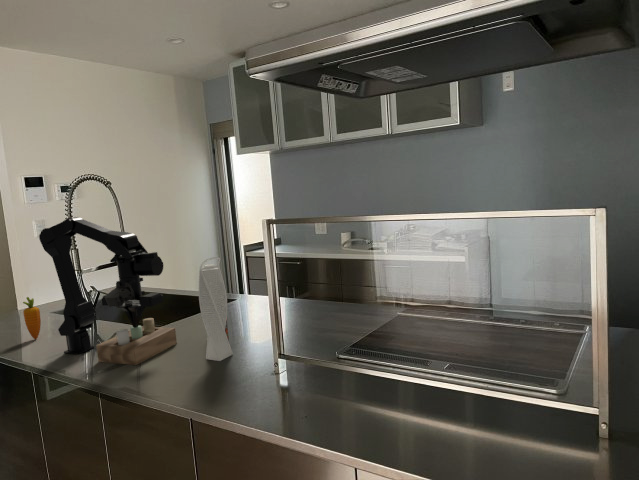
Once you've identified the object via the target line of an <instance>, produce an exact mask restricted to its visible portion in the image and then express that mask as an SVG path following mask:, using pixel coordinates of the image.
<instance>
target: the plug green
mask: <svg viewBox="0 0 639 480" xmlns="http://www.w3.org/2000/svg"><path fill="white" fill-rule="evenodd" d="M142 327H143V325H138V327H136V328H134V327H133V326H131V327H130V330H131V337H132V339H139V338H141V337H143V333H142ZM130 330H129V331H130Z"/></svg>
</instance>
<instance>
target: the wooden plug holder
mask: <svg viewBox="0 0 639 480" xmlns="http://www.w3.org/2000/svg"><path fill="white" fill-rule="evenodd" d="M128 332H129V340H130V343H128V344H126V345H118V340H117V335H116V336H114V337H112V338H109V339H108V340H104V341H103V342H101V343H98V344H96V345H95V346H96V353H97V360H98V361H97V362H99V363H106V364H107V363H109V364H120V365H122V364H123V365H132V366H133V365H134V366H137V365H140V364H141V363H143V362H145V361H147V360H148V359H151V358H153V357H154V356H156V355H158V354H160V353H162V352H164V351H166V350H168V349H169V348H171V347H173V346H175V345H177V344H178V341H177V333H176V328H175V327H159V326H155V331H154V332H152V333H144V326H142V333H143V337H141V338H139V339H132V337H131V330H128Z"/></svg>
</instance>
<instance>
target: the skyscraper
mask: <svg viewBox="0 0 639 480" xmlns="http://www.w3.org/2000/svg"><path fill="white" fill-rule="evenodd" d="M212 260H218V262H217V265H215V263H208V264H206V263H207V262H208V261H212ZM221 261H222V260H221V257H218V256H215V257H210V258H207V259H205V260H204V261H203V262H202V263H201V264H200V266H199V273H198V274H199V275H198V301H199V302H198V303H199V308H200V315H201V319H202V322H203V325H204V328H205V332H206V334H207V336H206V337H207V340H206V351H205V360H211V361H217V362H221V361H222V360H225V359H226V358H229V357H231V356H233V355H234V354H233V353H234V352H233V350H232V348H231V345H230V340H229V341H228V338H227V335H226V332H225V326H226V319H227V320H228V318H227V317H228V297H227V290H226V286H225V281H224V278H223V277H224V276H223V274H222V271H221V267H220V263H221Z"/></svg>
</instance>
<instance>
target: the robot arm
mask: <svg viewBox="0 0 639 480" xmlns="http://www.w3.org/2000/svg"><path fill="white" fill-rule="evenodd" d="M77 234H78V235H79V236H83V237H85V238H88V239H89V240H93V241H95V242H98V243H101V244H103V246H105V248H106V249H107V250H109V251H110V252H112V253H113V254H114V256H113V257H111V259H110V260H109V261H110V263H116V265H117V272H118V280H117V281H116V283H115V288H113V289H112V290H111V291H109V292H108V293H107V294H104V295H103V296H102V297H101V305H102V306H106V307H107V306H108V307H109V308H112V307H115V308H118V309H120V310H122V311H123V312H124V313H125V315H126V316H127V318H128V319H129V322H130V324H131V325H132V327H134V328H136V327H138V326H140V321H141V318H142V316H143V314H144V311H145V308H151V307H154V306H157V305H159V304H162V303H164V302H165V301H164V295H163V294H162V293H161V292H150V293H145V290H142V285H141V282H143V281H144V277H150V276H151V277H154V276H155V277H157V276H160V275H162V273H163V270H164V262H163V260H162V258H161V257H160V256H158V255H159V254H158V251H157V252H156V251H152V252H148V251H147V249H146V248H145V246H143V244H142V243H141V242H140V240H139V239H138V236H137V235H136V234H135V233H132V232H127V231H120V230H119V231H118V230H117V231H116V230H112V229H109V228H107V227H105V226H101V225H98V224H96V223H93V222H91V221H88V220H86V219H84V218H82V217H79V216H73V217H69V218H66V219H64V220H63V221H61V222H59V223H56V224H55V225H53V226H50V227H46V228H43V229H42V230H41V231H40V233H39V235H38V238H39V241H40V242H39V243H40V244H41V246H42V248H43V250H44V252H46V253H47V254H48V255H49V256H50V257H51V258H52V260H53V261H52V262H53V264H54V267H55V271H56V274H57V277H58V278H57V279H58V281H59V284H60V288H61V290H62V294H63V298H64V300H65V304H64V308H63V312H62V313H63V318H64V319H63V322H62V323H61V325H60V326H59V328H58V333H59V335H60V336H61V337H62V336H63V337H64V336H65V339H66V346H67V349H66V350H64V351H63V353H64V354H70V355H72V354H73V355H80V354H82V353H85V352H88V351H90V350H91V349H94V348H95V345H92V344H91V338H90V334H89V329H91V328H93V325H94V320H95V319H96V310H95V308H94V302H93V301H92V300H89V301H88V300H86V298H84V296H83V293H82V289H81V287H80V283H79V280H78V277H77V274H76V273H77V272H76V269H75V267H74V264H73V260H72V257H71V248H72V244H73V241H72V237H75V236H76V235H77Z"/></svg>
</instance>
